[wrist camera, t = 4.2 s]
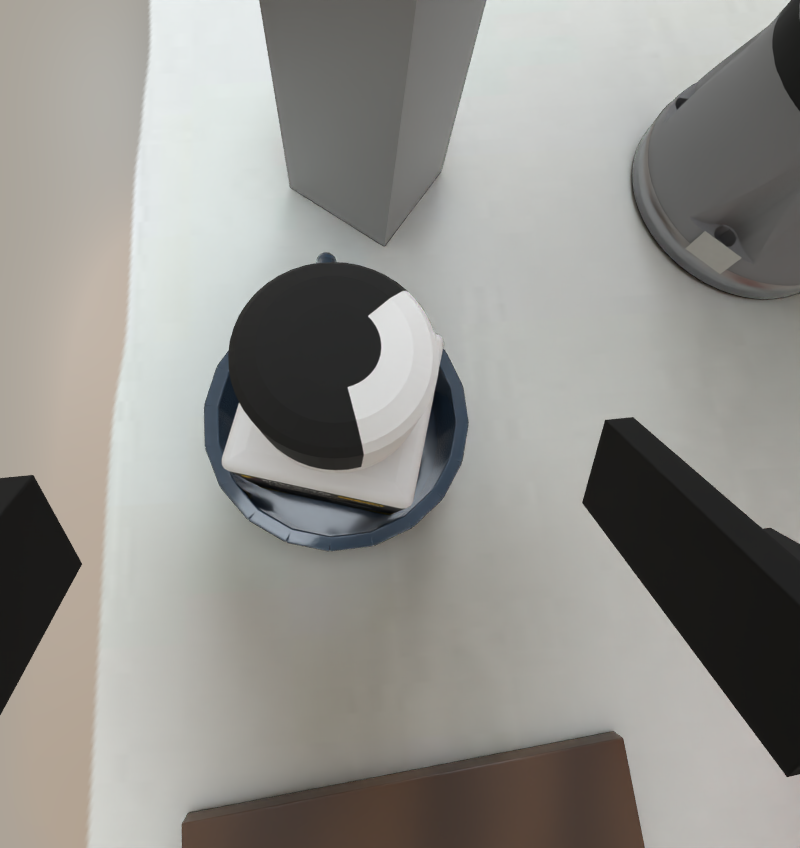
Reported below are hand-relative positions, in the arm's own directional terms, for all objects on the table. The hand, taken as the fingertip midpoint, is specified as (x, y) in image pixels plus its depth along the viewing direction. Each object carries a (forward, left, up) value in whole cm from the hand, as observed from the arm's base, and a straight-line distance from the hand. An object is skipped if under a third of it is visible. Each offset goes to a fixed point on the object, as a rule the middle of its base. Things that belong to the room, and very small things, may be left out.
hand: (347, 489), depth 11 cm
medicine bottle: (0, -4, -13) cm, 13 cm away
